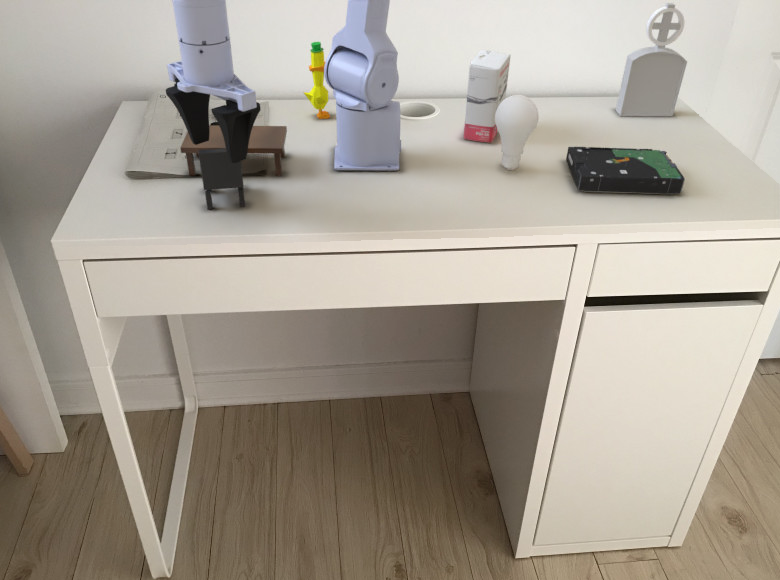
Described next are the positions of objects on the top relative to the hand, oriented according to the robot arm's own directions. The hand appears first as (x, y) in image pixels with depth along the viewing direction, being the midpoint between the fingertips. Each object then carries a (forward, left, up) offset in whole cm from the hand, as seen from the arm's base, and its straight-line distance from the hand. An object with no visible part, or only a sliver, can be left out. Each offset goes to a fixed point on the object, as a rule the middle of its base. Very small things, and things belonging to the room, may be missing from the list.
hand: (219, 151), depth 90 cm
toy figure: (-12, -32, -8) cm, 35 cm away
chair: (+1, -3, -8) cm, 8 cm away
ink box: (-38, -26, -8) cm, 47 cm away
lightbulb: (-40, -12, -8) cm, 43 cm away
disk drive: (-56, -9, -8) cm, 57 cm away
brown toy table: (0, -13, -8) cm, 15 cm away
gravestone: (-68, -35, -8) cm, 77 cm away
